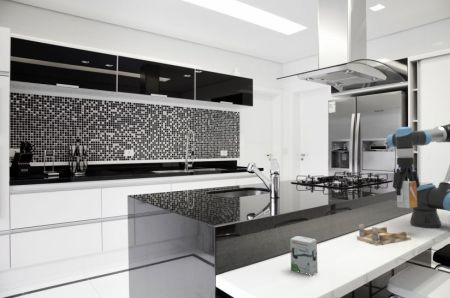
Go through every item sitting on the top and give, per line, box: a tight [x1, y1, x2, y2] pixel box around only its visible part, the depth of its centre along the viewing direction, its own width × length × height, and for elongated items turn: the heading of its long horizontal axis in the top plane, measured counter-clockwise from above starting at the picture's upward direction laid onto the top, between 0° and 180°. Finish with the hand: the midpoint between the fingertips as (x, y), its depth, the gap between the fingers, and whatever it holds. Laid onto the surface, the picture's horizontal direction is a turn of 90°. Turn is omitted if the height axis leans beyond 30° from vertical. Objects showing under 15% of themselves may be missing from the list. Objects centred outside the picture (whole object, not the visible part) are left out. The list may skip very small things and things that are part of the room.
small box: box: [396, 180, 417, 209], centre depth 158 cm, size 8×6×13 cm
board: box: [356, 223, 412, 246], centre depth 152 cm, size 22×12×8 cm, turn 111°
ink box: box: [289, 235, 319, 276], centre depth 113 cm, size 9×5×12 cm, turn 45°
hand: (407, 201), depth 158 cm, fingers closed on small box, 9 cm apart
